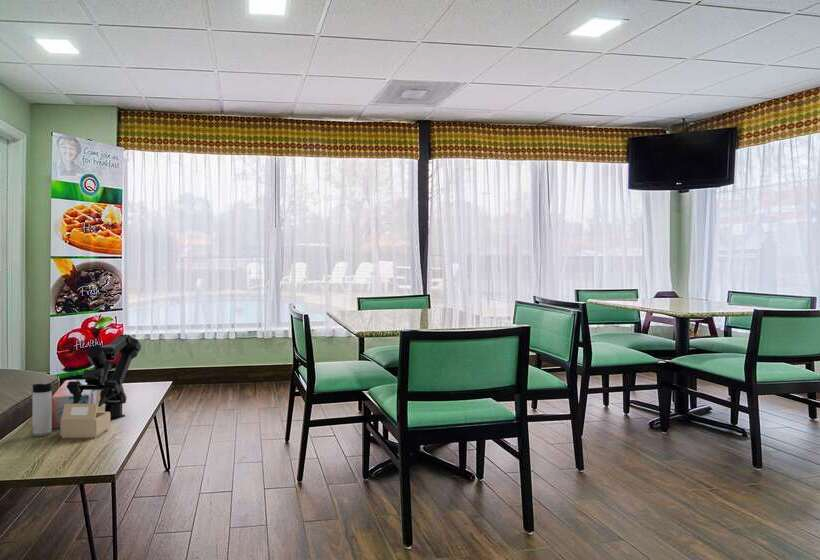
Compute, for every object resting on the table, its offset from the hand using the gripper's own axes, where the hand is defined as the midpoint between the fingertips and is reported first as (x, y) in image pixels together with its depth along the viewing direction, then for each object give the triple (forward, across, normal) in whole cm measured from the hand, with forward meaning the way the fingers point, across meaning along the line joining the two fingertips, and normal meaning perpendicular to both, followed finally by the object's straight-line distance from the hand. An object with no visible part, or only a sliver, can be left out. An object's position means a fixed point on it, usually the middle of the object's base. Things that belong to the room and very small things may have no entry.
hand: (86, 406), depth 230 cm
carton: (+8, 0, +7) cm, 11 cm away
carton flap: (+4, 0, -3) cm, 5 cm away
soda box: (-12, -17, +28) cm, 35 cm away
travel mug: (+8, -16, +7) cm, 19 cm away
